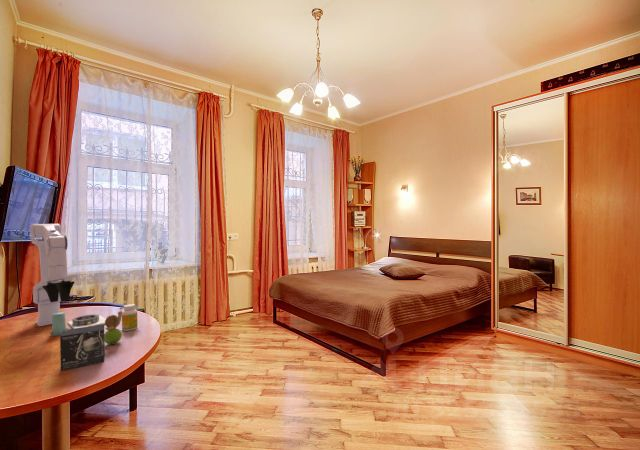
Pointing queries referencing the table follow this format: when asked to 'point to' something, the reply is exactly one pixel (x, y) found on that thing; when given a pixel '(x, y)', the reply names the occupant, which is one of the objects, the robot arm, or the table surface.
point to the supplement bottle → (129, 317)
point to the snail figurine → (113, 328)
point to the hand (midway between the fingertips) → (59, 301)
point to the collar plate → (87, 321)
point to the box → (82, 346)
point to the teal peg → (58, 323)
